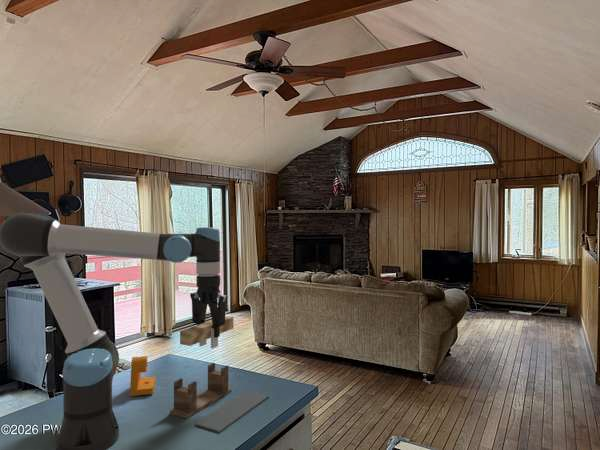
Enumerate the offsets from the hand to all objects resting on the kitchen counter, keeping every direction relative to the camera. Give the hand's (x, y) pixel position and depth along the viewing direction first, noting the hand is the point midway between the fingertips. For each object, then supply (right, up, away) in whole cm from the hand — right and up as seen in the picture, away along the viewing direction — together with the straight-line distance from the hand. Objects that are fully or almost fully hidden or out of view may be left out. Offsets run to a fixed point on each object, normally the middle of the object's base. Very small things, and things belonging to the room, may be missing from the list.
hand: (208, 345), depth 133 cm
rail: (0, +3, 0) cm, 3 cm away
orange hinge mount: (-25, -19, +10) cm, 33 cm away
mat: (+9, -19, -5) cm, 22 cm away
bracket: (-2, -19, +1) cm, 19 cm away
